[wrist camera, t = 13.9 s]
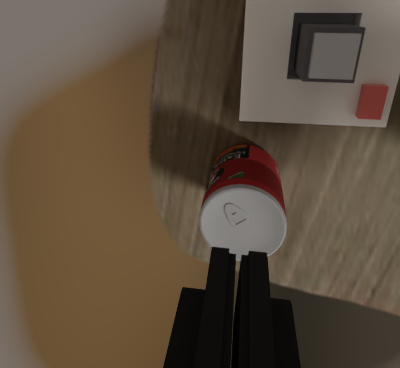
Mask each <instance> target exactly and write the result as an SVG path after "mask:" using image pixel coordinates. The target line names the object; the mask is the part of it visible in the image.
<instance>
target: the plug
mask: <svg viewBox="0 0 400 368" xmlns="http://www.w3.org/2000/svg"><path fill="white" fill-rule="evenodd" d="M365 29H366V28H365V27H360V26H355V25H350V24H345V23H299V28H298V36H297V43H296V51H295V59H294V67H293V68H294V69H295V71H296V73H297V74H298V76H299V78H300V79H301V81H305V82H332V83H354V81H355V76H356V72H357V67H358V62H359V57H360V52H361V48H362V43H363V38H364V33H365Z"/></svg>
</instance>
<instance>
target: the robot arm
mask: <svg viewBox="0 0 400 368" xmlns="http://www.w3.org/2000/svg"><path fill="white" fill-rule="evenodd" d="M235 265H236V254H232V253H229V248H221V247H212V250H211V257H210V264H209V270H208V277H207V283H206V290H202V289H194V288H186V287H183V288H182V291H181V295H180V299H179V303H178V307H177V312H176V316H175V320H174V324H173V328H172V332H171V337H170V341H169V345H168V349H167V354H166V358H165V362H164V366H163V368H230V361H232V362H231V368H301V366H300V360H299V352H298V345H297V338H296V331H295V324H294V317H293V310H292V304H291V301H290V300H284V299H276V298H270V285H269V271H268V257H267V253H266V252H257V251H249V252H248V255H241V262H240V271H239V279H238V287H237V296H236V304H235V312H234V322H233V304H234V284H235ZM232 323H233V339H232ZM232 340H233V341H232ZM231 343H232V359H231Z"/></svg>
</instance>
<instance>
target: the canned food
mask: <svg viewBox="0 0 400 368" xmlns="http://www.w3.org/2000/svg"><path fill="white" fill-rule="evenodd" d="M286 227H287V223H286V213H285V206H284V199H283V193H282V186H281V180H280V173H279V169H278V166H277V164H276V162H275V161H274V159H273V158H272V157H271V156H270V155H269V154H268V153H267V152H265V151H264V150H263V149H261V148H259V147H256V146H253V145H248V144H241V145H235V146H232V147H230V148H228V149H226V150H224V151H223V152H222V153H221V154H220V155H219V156H218V157H217V158H216V160H215V162H214V164H213V167H212V170H211V174H210V178H209V181H208V185H207V188H206V192H205V196H204V199H203V203H202V207H201V212H200V229H201V233H202V235H203V237H204V239H205V241H206V242H207V243H208V245H209V246H210V247H211V248H212V247H221V248H229V253H232V254H236V261H241V255H248V252H249V251H257V252H266V253H267V257H268V256H269V255H271V254H273V253H274V252H275V251H276V250H277V249H278V248H279V247H280V246H281V244H282V243H283V240H284V238H285V235H286Z"/></svg>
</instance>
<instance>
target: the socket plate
mask: <svg viewBox="0 0 400 368" xmlns="http://www.w3.org/2000/svg"><path fill="white" fill-rule="evenodd" d="M299 23H345V24H350V25H355V26H360V27H365V28H366V29H365V33H364V38H363V43H362V48H361V52H360V57H359V62H358V67H357V72H356V76H355V81H354V83H332V82H305V81H301V79H300V78H299V76H298V74H297V73H296V71H295V69H294V68H293V67H294V59H295V51H296V43H297V36H298V28H299ZM399 75H400V0H246V8H245V26H244V44H243V62H242V79H241V97H240V115H239V121H253V122H276V123H298V124H321V125H343V126H366V127H386V125H387V121H388V117H389V113H390V110H391V106H392V102H393V98H394V94H395V90H396V86H397V82H398V79H399Z"/></svg>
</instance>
